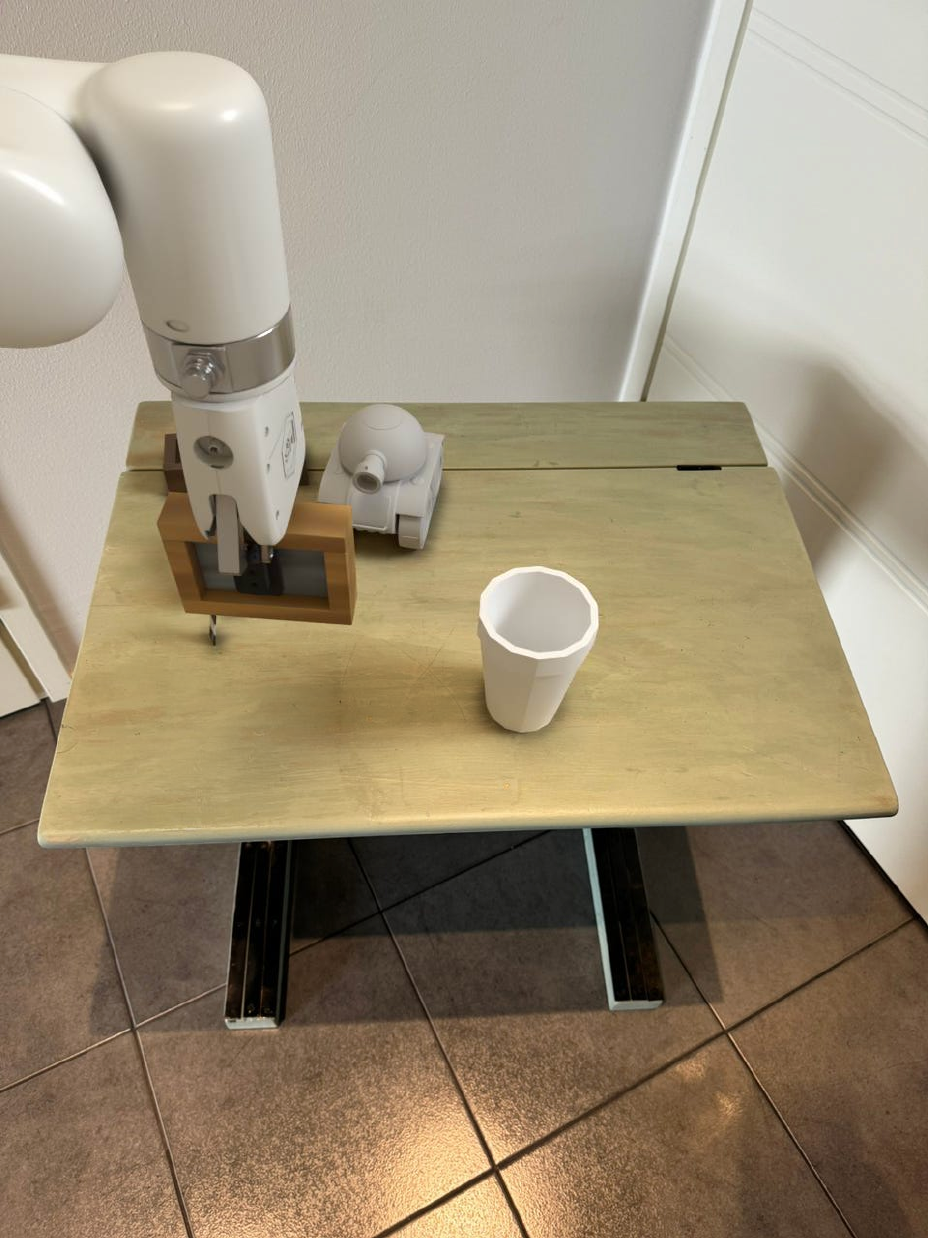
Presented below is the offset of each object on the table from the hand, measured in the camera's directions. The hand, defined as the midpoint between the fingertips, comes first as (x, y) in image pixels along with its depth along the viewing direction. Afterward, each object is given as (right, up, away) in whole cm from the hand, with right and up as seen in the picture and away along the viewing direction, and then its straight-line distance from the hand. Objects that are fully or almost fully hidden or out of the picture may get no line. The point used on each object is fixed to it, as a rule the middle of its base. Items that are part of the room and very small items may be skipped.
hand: (266, 570), depth 58 cm
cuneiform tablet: (-10, -1, +24) cm, 26 cm away
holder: (-11, +13, +34) cm, 38 cm away
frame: (0, -2, +3) cm, 4 cm away
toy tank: (+5, +8, +32) cm, 33 cm away
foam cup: (+19, -11, +17) cm, 28 cm away
